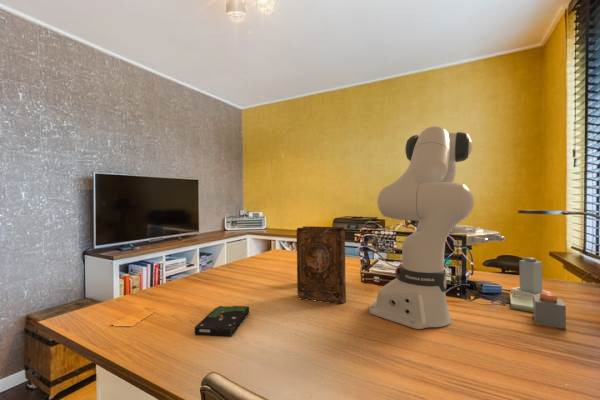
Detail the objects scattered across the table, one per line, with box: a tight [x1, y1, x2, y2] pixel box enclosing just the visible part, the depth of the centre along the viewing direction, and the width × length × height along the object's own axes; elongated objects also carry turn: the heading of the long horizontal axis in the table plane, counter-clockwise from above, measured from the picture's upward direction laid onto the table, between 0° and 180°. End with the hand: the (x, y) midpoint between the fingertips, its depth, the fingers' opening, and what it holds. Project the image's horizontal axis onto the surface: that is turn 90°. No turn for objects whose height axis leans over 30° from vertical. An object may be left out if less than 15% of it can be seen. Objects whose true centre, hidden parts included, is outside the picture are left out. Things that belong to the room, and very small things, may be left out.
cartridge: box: [518, 256, 543, 295], centre depth 95 cm, size 4×4×13 cm
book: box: [296, 225, 347, 305], centre depth 96 cm, size 16×6×25 cm, turn 68°
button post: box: [532, 295, 567, 330], centre depth 76 cm, size 6×6×6 cm
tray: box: [509, 293, 533, 313], centre depth 86 cm, size 10×10×2 cm
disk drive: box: [194, 305, 250, 338], centre depth 79 cm, size 10×3×15 cm
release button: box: [540, 292, 558, 302], centre depth 76 cm, size 4×4×6 cm
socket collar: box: [510, 286, 553, 297], centre depth 95 cm, size 8×8×2 cm
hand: (495, 240), depth 107 cm, fingers open, 8 cm apart
